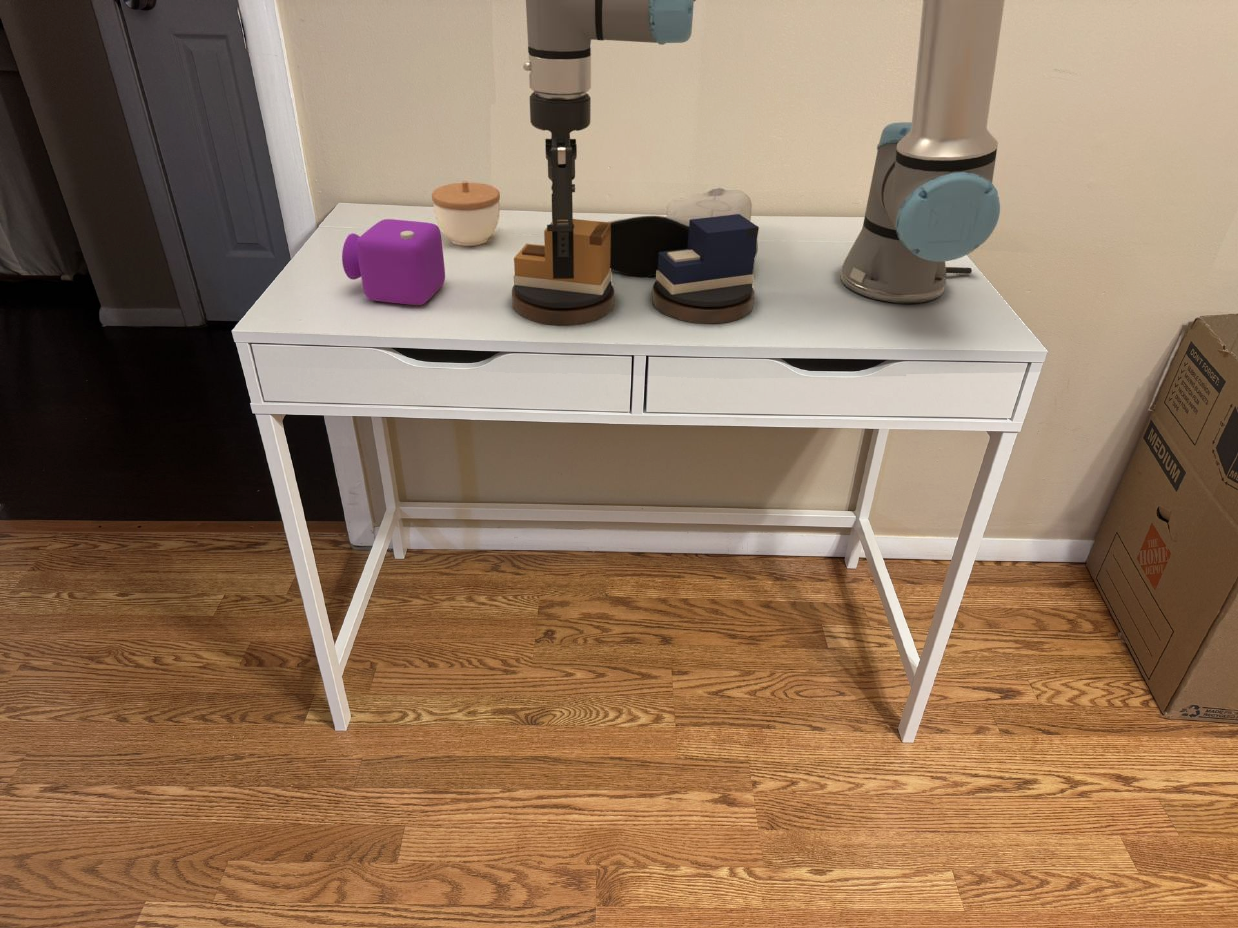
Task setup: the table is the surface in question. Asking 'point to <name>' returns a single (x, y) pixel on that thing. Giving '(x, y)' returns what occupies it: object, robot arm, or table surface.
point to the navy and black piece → (711, 263)
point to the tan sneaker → (588, 269)
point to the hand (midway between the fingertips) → (562, 258)
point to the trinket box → (467, 212)
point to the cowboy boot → (668, 229)
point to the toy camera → (396, 261)
